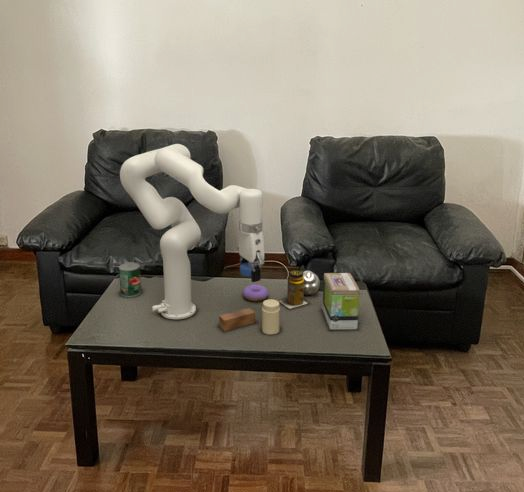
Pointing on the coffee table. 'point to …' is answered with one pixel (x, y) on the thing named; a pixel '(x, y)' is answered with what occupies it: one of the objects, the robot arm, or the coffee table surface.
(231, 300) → the coffee table surface
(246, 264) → the lid
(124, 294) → the canned tomato
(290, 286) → the condiment
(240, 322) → the block
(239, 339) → the coffee table surface
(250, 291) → the donut
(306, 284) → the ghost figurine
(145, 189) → the robot arm
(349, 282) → the tea box
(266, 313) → the jar
